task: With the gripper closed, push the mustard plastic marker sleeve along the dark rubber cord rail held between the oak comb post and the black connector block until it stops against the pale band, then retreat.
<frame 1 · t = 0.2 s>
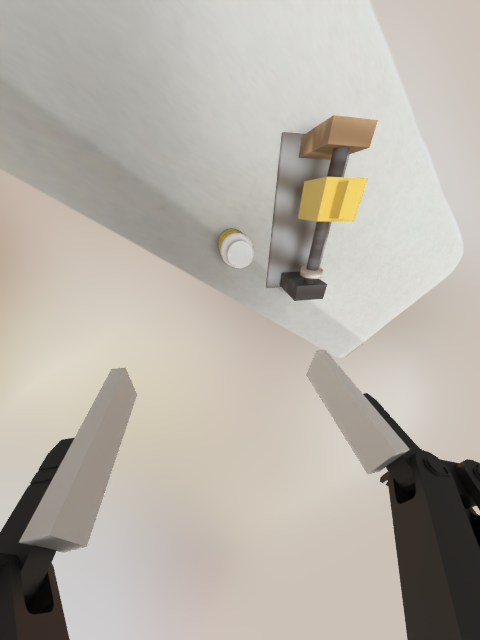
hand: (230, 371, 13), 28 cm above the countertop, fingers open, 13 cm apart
sleeve: (332, 201, 26), point 8 cm above the countertop, slide at 0.0 cm
supplement bottle: (231, 243, 34), on the countertop
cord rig: (301, 225, 35), on the countertop
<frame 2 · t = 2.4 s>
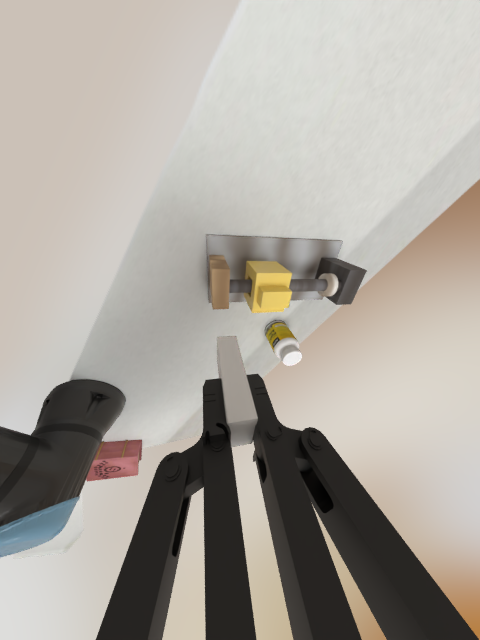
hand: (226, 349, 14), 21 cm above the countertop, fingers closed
sleeve: (266, 288, 26), point 8 cm above the countertop, slide at 0.0 cm
supplement bottle: (274, 328, 42), on the countertop
book: (118, 449, 59), on the countertop
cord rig: (273, 271, 34), on the countertop
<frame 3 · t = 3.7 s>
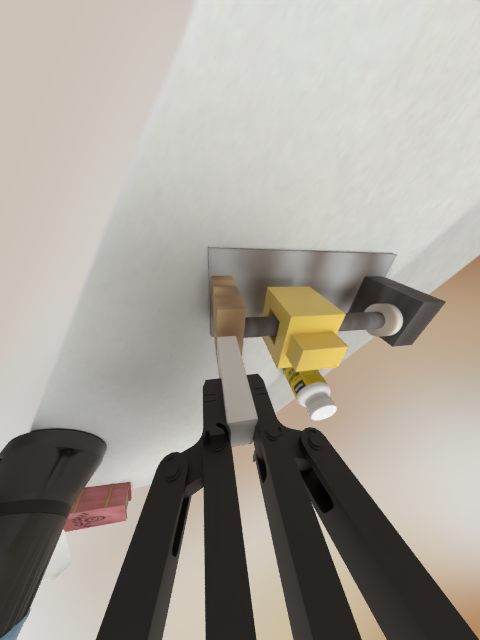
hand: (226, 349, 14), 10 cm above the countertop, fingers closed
sleeve: (298, 330, 17), point 8 cm above the countertop, slide at 0.0 cm
supplement bottle: (294, 361, 33), on the countertop
book: (103, 491, 50), on the countertop
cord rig: (298, 295, 25), on the countertop
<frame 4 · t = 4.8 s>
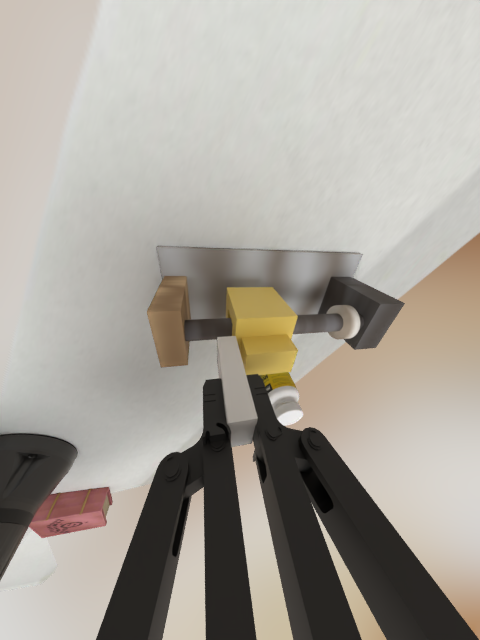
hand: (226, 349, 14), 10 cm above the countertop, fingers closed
sleeve: (256, 332, 17), point 8 cm above the countertop, slide at 0.9 cm, touching gripper
supplement bottle: (267, 364, 32), on the countertop
book: (81, 496, 49), on the countertop
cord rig: (263, 296, 24), on the countertop
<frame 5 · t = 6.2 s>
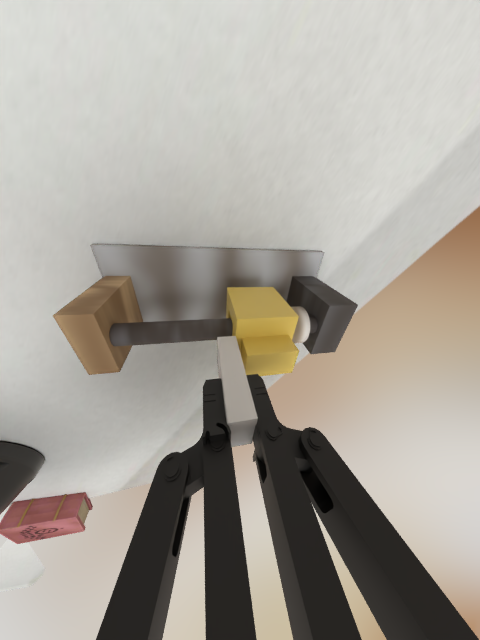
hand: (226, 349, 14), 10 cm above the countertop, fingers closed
sleeve: (257, 333, 17), point 8 cm above the countertop, slide at 6.7 cm, touching gripper
book: (58, 502, 48), on the countertop
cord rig: (221, 296, 23), on the countertop
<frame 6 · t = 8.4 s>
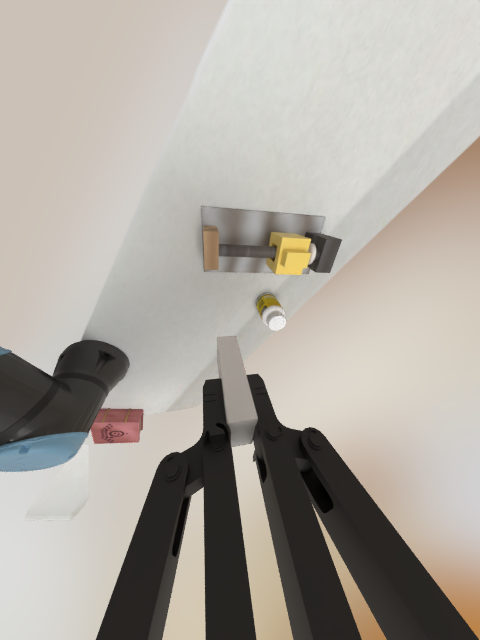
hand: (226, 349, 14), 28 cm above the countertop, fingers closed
sleeve: (288, 254, 31), point 8 cm above the countertop, slide at 6.7 cm
supplement bottle: (265, 301, 46), on the countertop
book: (122, 417, 65), on the countertop
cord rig: (262, 244, 38), on the countertop
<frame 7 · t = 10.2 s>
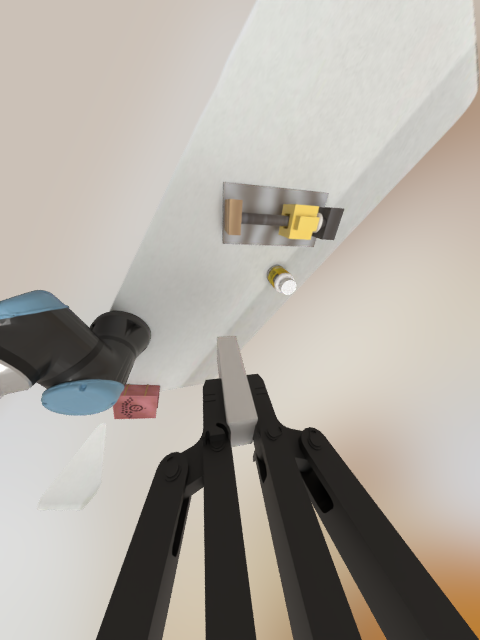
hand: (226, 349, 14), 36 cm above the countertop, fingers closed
sleeve: (299, 222, 37), point 8 cm above the countertop, slide at 6.7 cm
supplement bottle: (275, 274, 51), on the countertop
book: (139, 394, 69), on the countertop
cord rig: (273, 218, 43), on the countertop
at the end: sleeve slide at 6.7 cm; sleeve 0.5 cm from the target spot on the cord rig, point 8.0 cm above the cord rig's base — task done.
